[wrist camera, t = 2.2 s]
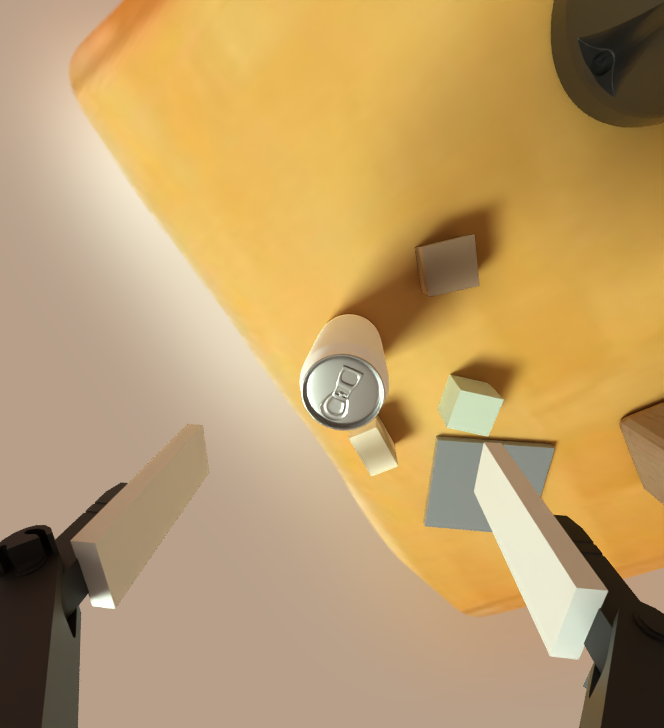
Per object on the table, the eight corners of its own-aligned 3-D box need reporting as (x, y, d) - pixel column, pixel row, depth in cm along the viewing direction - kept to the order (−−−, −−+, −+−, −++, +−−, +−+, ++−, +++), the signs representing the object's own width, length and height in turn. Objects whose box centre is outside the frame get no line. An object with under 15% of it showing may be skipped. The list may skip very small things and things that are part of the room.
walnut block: (414, 247, 29) (422, 247, 25) (459, 236, 29) (474, 234, 25) (421, 291, 30) (429, 297, 27) (464, 281, 30) (479, 285, 26)
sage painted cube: (449, 374, 33) (460, 390, 29) (487, 382, 33) (504, 399, 29) (437, 408, 34) (446, 427, 30) (474, 416, 34) (488, 436, 30)
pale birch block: (350, 418, 36) (348, 438, 32) (374, 408, 35) (376, 427, 31) (370, 453, 37) (371, 476, 33) (394, 443, 36) (398, 466, 32)
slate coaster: (436, 436, 35) (438, 440, 34) (550, 443, 34) (555, 448, 34) (423, 521, 39) (424, 526, 39) (525, 529, 38) (528, 535, 38)
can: (308, 358, 34) (281, 413, 22) (333, 302, 31) (316, 331, 20) (364, 383, 34) (365, 449, 23) (392, 329, 32) (409, 373, 20)
